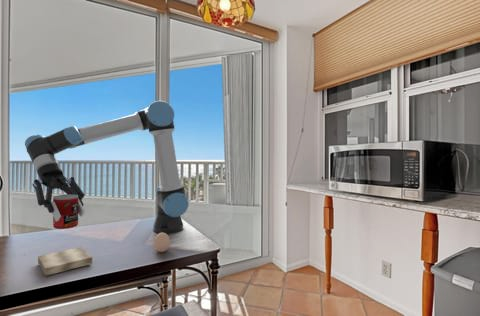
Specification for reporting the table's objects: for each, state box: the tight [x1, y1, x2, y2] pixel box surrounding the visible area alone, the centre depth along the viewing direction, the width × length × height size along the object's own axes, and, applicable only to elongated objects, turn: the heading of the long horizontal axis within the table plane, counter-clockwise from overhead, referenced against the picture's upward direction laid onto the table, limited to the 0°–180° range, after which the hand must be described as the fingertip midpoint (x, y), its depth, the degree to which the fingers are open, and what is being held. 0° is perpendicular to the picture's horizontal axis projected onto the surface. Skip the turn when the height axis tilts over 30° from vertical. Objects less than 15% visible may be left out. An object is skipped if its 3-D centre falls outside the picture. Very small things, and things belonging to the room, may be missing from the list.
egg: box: [153, 232, 171, 253], centre depth 114 cm, size 7×7×8 cm
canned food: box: [52, 194, 79, 230], centre depth 100 cm, size 8×8×11 cm
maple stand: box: [37, 246, 93, 277], centre depth 100 cm, size 14×14×3 cm
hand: (71, 216), depth 98 cm, fingers closed on canned food, 8 cm apart
